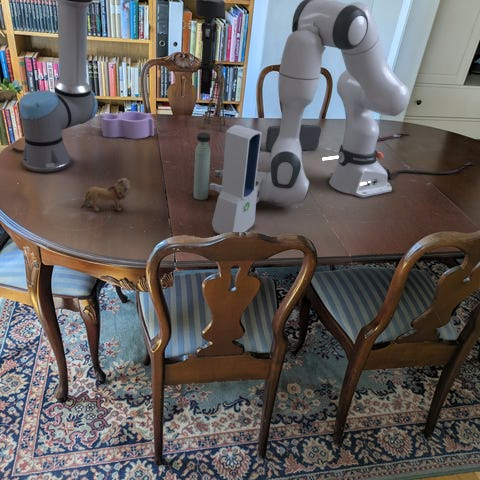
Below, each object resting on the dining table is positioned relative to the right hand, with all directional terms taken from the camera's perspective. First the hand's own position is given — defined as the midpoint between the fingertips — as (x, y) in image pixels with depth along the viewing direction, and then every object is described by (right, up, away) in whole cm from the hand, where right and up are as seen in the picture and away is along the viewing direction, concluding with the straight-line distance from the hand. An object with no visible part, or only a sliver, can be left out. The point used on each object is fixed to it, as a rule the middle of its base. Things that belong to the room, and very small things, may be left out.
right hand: (212, 179), depth 146 cm
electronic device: (+7, -16, -11) cm, 21 cm away
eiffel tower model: (-3, +31, +59) cm, 67 cm away
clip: (-37, +24, +44) cm, 62 cm away
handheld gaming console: (+30, +18, +45) cm, 57 cm away
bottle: (-4, -5, +4) cm, 7 cm away
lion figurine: (-31, -9, -8) cm, 33 cm away
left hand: (-1, +23, -14) cm, 28 cm away
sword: (+77, +27, +67) cm, 105 cm away
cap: (-2, +12, -7) cm, 14 cm away
